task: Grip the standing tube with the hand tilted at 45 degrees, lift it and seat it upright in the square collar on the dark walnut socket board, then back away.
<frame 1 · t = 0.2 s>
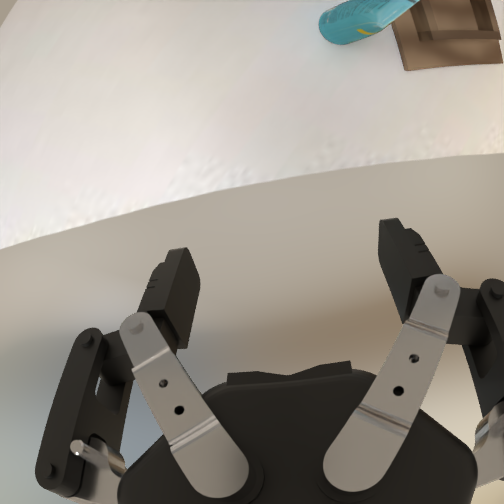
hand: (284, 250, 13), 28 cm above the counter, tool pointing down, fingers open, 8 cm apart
socket board: (440, 4, 25), on the counter
tube: (339, 27, 29), on the counter
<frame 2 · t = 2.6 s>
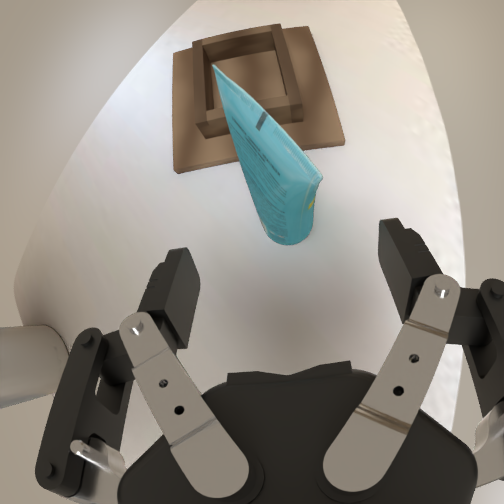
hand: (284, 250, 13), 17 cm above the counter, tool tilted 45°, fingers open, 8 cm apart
socket board: (248, 90, 33), on the counter
tube: (288, 219, 31), on the counter
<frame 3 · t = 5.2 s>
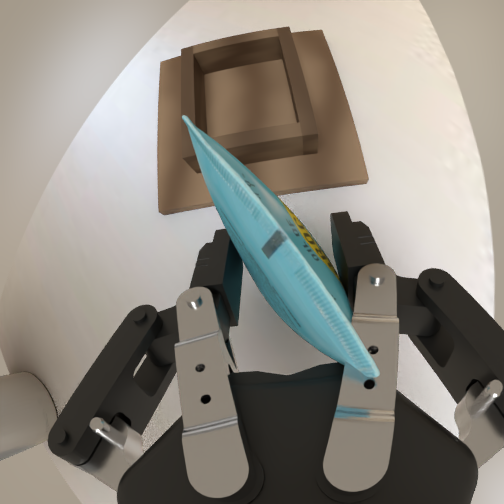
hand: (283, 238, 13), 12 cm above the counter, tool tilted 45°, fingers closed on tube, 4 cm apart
socket board: (250, 110, 28), on the counter
tube: (296, 277, 25), on the counter, touching gripper
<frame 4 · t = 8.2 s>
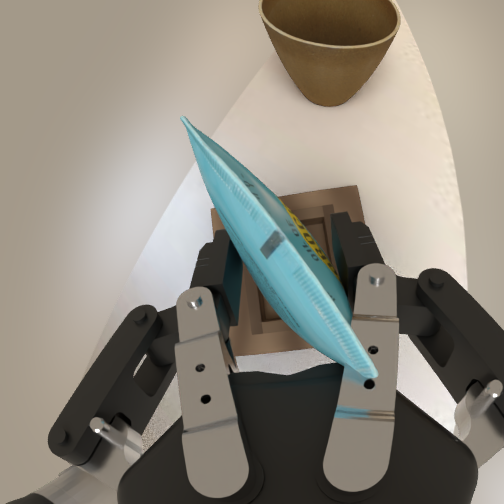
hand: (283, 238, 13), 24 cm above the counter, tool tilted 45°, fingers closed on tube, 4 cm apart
socket board: (295, 272, 37), on the counter
tube: (298, 277, 25), point 12 cm above the counter, touching gripper
plant pot: (327, 86, 39), on the counter
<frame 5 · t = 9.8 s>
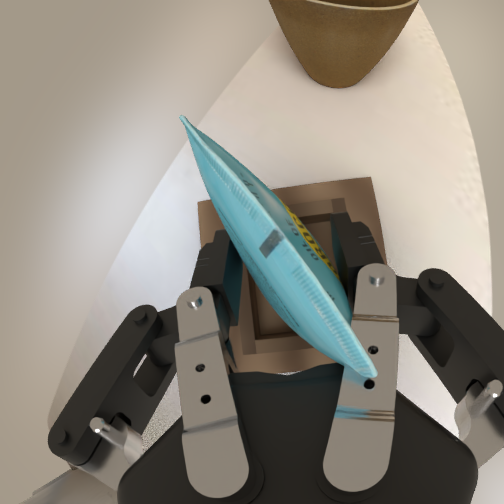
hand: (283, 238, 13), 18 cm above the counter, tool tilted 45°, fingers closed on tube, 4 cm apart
socket board: (296, 278, 31), on the counter
tube: (298, 277, 25), point 6 cm above the counter, touching gripper
plant pot: (335, 66, 33), on the counter
when the fingers open (14 cm above the counter, at t = 11.4 s): tube drops 1 cm, resting on socket board.
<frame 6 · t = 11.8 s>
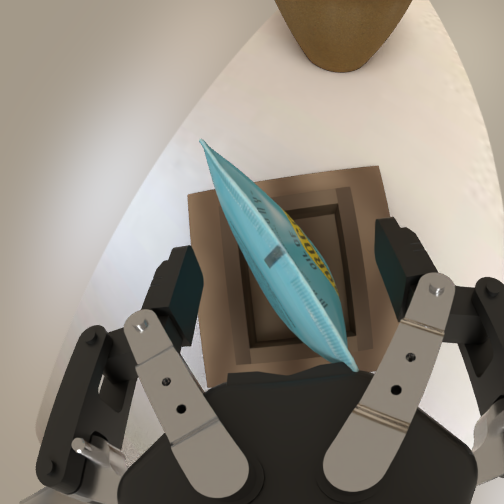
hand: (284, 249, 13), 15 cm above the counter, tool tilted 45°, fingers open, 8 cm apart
socket board: (297, 278, 28), on the counter
tube: (300, 280, 26), point 1 cm above the counter, touching socket board
plant pot: (337, 50, 30), on the counter
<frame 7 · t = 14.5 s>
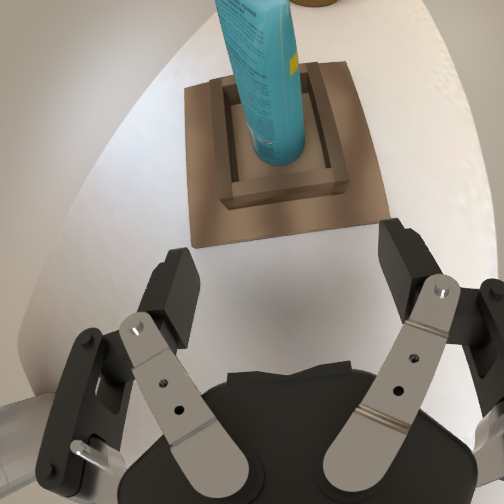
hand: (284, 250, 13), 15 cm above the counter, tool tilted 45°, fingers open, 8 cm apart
socket board: (277, 145, 29), on the counter
tube: (280, 142, 28), point 1 cm above the counter, touching socket board
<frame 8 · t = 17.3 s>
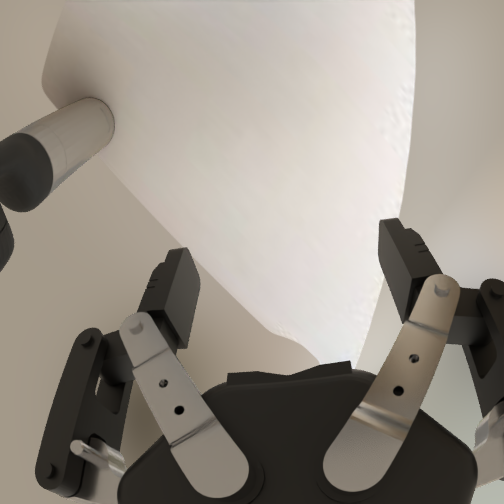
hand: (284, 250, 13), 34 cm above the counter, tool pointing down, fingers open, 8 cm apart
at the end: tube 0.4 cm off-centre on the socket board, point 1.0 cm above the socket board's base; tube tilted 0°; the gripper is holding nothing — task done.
